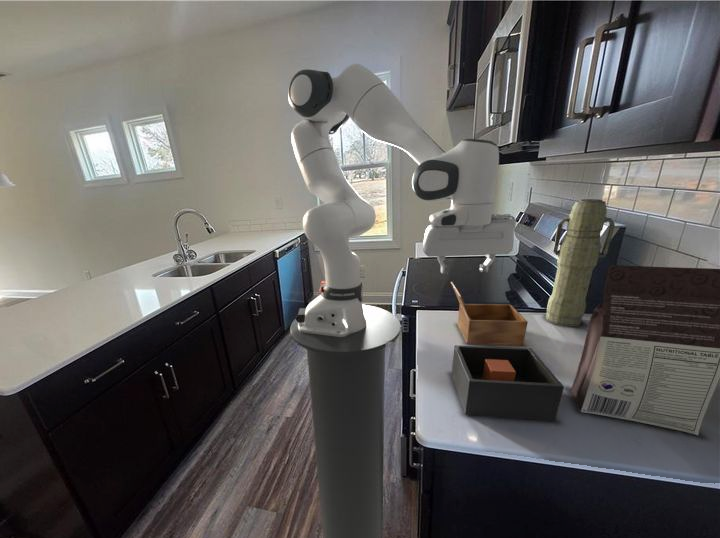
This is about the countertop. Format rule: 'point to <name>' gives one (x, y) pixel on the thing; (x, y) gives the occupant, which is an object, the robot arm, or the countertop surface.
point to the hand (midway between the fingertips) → (463, 272)
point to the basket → (506, 384)
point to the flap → (460, 300)
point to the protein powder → (653, 347)
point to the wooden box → (492, 324)
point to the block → (498, 370)
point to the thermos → (577, 260)
